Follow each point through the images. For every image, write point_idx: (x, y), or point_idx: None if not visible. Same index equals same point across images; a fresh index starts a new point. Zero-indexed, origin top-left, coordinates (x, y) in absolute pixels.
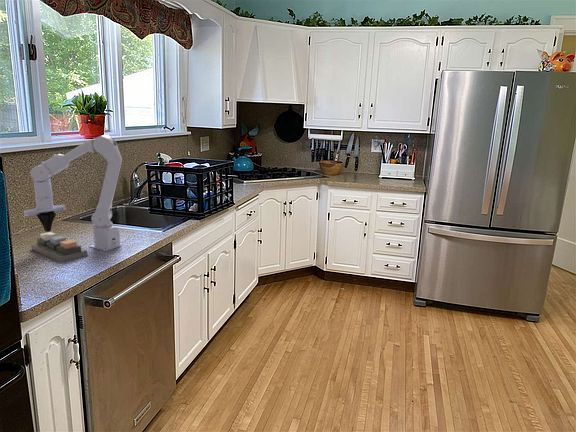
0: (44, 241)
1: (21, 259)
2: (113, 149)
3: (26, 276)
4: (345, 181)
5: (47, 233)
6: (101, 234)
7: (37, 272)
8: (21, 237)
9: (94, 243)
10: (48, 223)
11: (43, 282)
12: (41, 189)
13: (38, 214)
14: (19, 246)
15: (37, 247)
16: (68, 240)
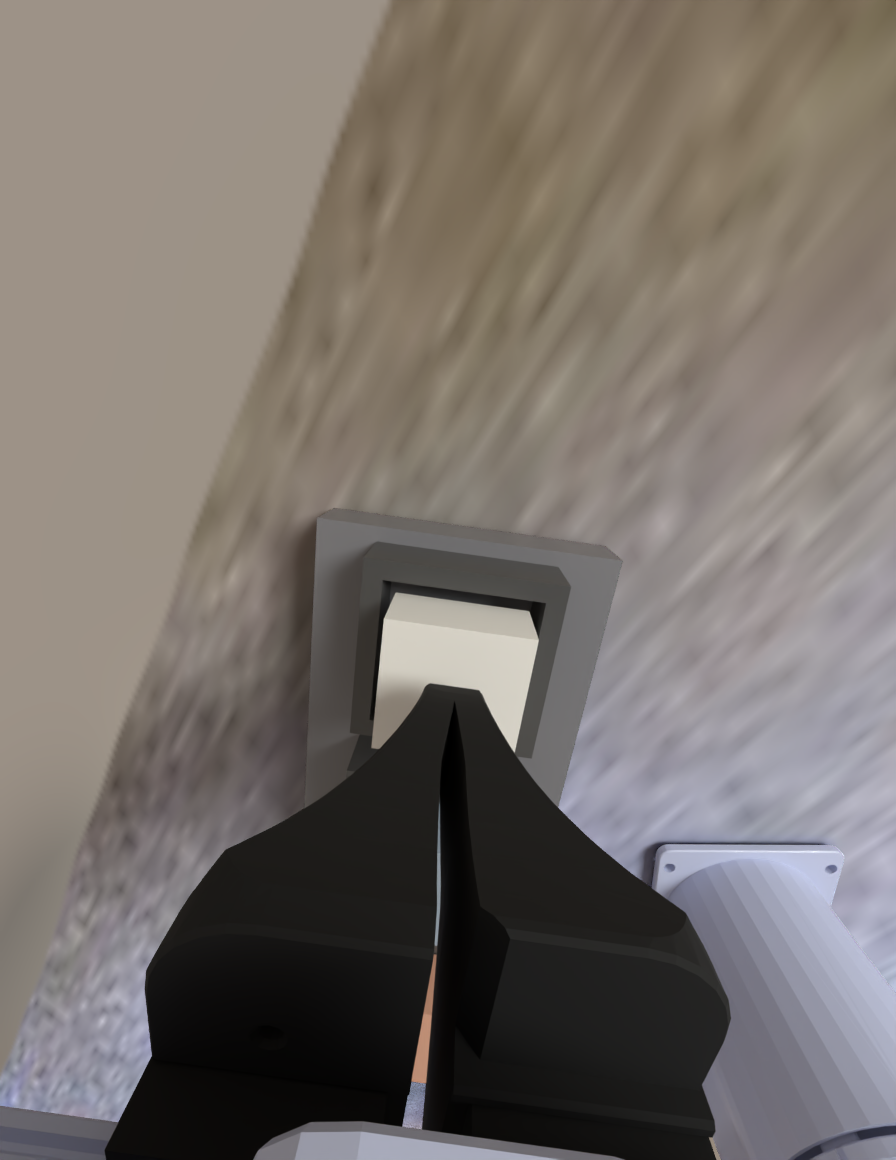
0: (355, 727)
1: (159, 673)
2: None
3: (71, 945)
4: None
5: (460, 671)
6: (728, 1113)
7: (139, 943)
8: None
9: (687, 912)
10: (446, 863)
11: (108, 1051)
12: None
13: (156, 1111)
14: (313, 258)
15: (312, 653)
16: (423, 1025)
